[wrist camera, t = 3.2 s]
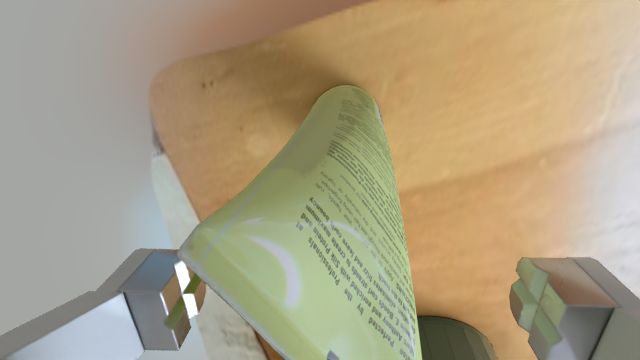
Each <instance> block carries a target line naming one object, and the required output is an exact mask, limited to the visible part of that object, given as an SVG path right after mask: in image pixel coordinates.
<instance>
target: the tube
mask: <svg viewBox="0 0 640 360" xmlns="http://www.w3.org/2000/svg"><path fill="white" fill-rule="evenodd" d="M177 256H178V258H179V259H180V260H181V261H182V262H183V263H184V264H185V265H186V266H188V267H189V268H190V269H191V270H192V271H194V272H195V273H196V274H197V275H198V276H199V277H200V278H201V279H202V280H203V281H204V282H205V283H206V284H207V285H208V286H209V287H210V288H211V289H212V290H213V291H215V292H216V293H217V294H218V295H219V296H220V297H221V298H222V299H223V300H224V301H225V302H226V303H227V304H229V305H230V306H231V307H232V308H233V309H234V310H235V311H236V312H237V313H238V314H239V315H240V316H241V317H242V318H243V319H244V320H245V321H246V322H247V323H248V324H249V325H250V326H251V327H252V328H253V329H254V330H255V331H256V332H257V333H258V334H259V335H260V336H261V337H262V338H263V339H264V340H265V341H266V342H267V343H268V344H269V345H270V346H271V347H272V348H274V349H275V350H276V351H277V352H278V353H279V354H280V355H281V356H282V357H283V358H284V359H285V360H422V354H421V346H420V338H419V330H418V322H417V314H416V306H415V299H414V292H413V285H412V278H411V271H410V264H409V257H408V251H407V244H406V237H405V231H404V225H403V219H402V213H401V207H400V201H399V196H398V190H397V184H396V179H395V173H394V168H393V163H392V158H391V153H390V149H389V145H388V141H387V136H386V132H385V128H384V124H383V121H382V117H381V113H380V110H379V108H378V105H377V103H376V101H375V100H374V99H373V97H372V96H371V95H370V94H368V93H367V92H366V91H365V90H363V89H361V88H358V87H355V86H350V85H341V86H337V87H333V88H331V89H329V90H327V91H326V92H325V93H323V94H322V95H321V96H320V97H319V98H318V99H317V101H316V102H315V104H314V105H313V107H312V109H311V110H310V112H309V114H308V115H307V117H306V118H305V120H304V121H303V123H302V124H301V126H300V127H299V128H298V130H297V131H296V132H295V134H294V135H293V136H292V138H291V139H290V140H289V141H288V143H287V144H286V145H285V146H284V147H283V149H282V150H281V151H280V152H279V153H278V154H277V155H276V156H275V158H274V159H273V160H272V161H271V162H270V163H269V164H268V165H267V166H266V167H265V168H264V169H263V170H262V171H261V172H260V174H259V175H258V176H257V177H256V178H255V179H254V180H253V181H252V182H251V183H250V184H249V185H248V186H247V187H246V188H245V189H244V190H243V191H242V192H240V193H239V194H238V195H237V196H236V197H235V198H234V199H232V200H231V201H230V202H228V203H227V204H226V205H224V206H223V207H222V208H220V209H219V210H217V211H216V212H215V213H213V214H212V215H211V216H209V217H208V218H207V219H205V220H204V221H203V222H201V223H200V224H198V225H197V226H196V228H195V229H194V230H193V231H192V233H191V234H190V235H189V237H188V238H187V239H186V240H185V242H184V243H183V244H182V246H181V247H180V249H179V251H178V253H177Z"/></svg>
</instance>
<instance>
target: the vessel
mask: <svg viewBox="0 0 640 360" xmlns="http://www.w3.org/2000/svg"><path fill="white" fill-rule="evenodd" d="M417 322H418V330H419V338H420V346H421V354H422V360H499V358H498V356H497V355H496V353H495V351H494V349H493V347H492V345H491V343H490V342H489V341H488V339H487V338H486V337H485V336H484V335H483V334H482V333H480V332H479V331H478V330H476V329H475V328H473V327H471V326H469V325H467V324H465V323H462V322H460V321H456V320H453V319H448V318H443V317H432V316H426V317H417Z"/></svg>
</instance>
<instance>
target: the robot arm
mask: <svg viewBox="0 0 640 360" xmlns="http://www.w3.org/2000/svg"><path fill="white" fill-rule="evenodd" d="M178 251H179V250H173V249H142V248H141V249H138V250H135V251H134V252H133V253H132V254H131V255H130V256H129V257H128V258H127V259H126V260H125V261H124V262H123V263H122V264H121V265H120V266H119V267H118V269H117V270H116V271H115V272H114V273H113V274H112V275H111V276H110V277H109V278H108V279H107V280H106V281H105V282H104V283H103V284H102V285H101V286H100V287H99V288H98V289H97V290H96V291H95V292H94V291H89V292H87V293H85V294H83V295H81V296H79V297H77V298H75V299H73V300H71V301H69V302H67V303H65V304H63V305H61V306H59V307H57V308H55V309H53V310H51V311H49V312H47V313H45V314H43V315H41V316H39V317H37V318H35V319H33V320H31V321H29V322H27V323H25V324H23V325H21V326H19V327H17V328H15V329H13V330H11V331H9V332H7V333H5V334H3V335H1V336H0V360H136V359H137V358H138V357H139V356H140V355H142V354H143V353H144V352H145V351H144V350H177V351H178V350H179V349H180V347H181V345H182V343H183V341H184V339H185V338H186V336H187V334H188V332H189V330H190V328H191V326H190V322H189V320H190V319H191V318H192V317H194V316H195V315H196V314H198V313H199V311H200V309H201V307H202V305H203V302H204V297H205V293H206V287H205V282H204V281H203V280H202V279H201V278H200V277H199V276H198V275H197V274H196V273H195V272H194V271H192V270H191V269H190V268H189V267H188V266H186V265H185V264H184V263H183V262H182V261H181V260H180V259H179V258H178V256H177V253H178ZM516 272H517V274H518V275H519V277H520V279H518V280H517V281H516V282H515V283H514V284H512V286H511V291H510V295H509V298H510V308H511V311H512V314H513V316H514V318H515V320H516V322H517V324H518V325H519V326H520V327H522V328H523V329H525V330H526V331H527V332H529V333H530V335H529V338H528V343H529V344H530V346H531V348H532V350H533V351H534V353H535V355H536V356H537V358H538V360H640V299H639V298H638V297H636V296H635V295H634V294H633V293H632V292H631V291H630V290H629V289H628V288H627V287H626V286H624V285H623V284H622V283H621V282H620V281H619V280H618V279H617V278H616V277H615V276H614V275H613V274H611V273H610V272H609V271H608V270H607V269H606V268H605V267H604V266H603V265H602V264H601V263H600V262H598V261H597V260H595V259H593V258H590V257H567V258H527V257H522V258H521V259H520V261H519V262H518V264H517V268H516Z"/></svg>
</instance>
